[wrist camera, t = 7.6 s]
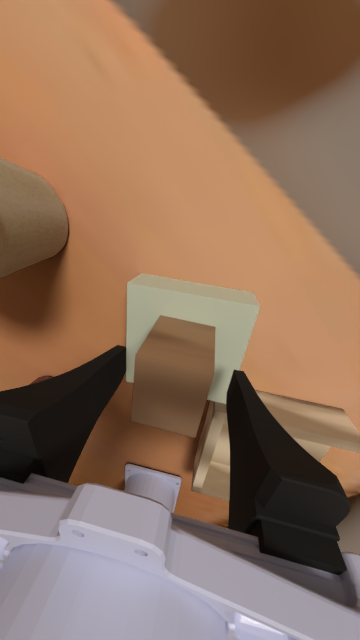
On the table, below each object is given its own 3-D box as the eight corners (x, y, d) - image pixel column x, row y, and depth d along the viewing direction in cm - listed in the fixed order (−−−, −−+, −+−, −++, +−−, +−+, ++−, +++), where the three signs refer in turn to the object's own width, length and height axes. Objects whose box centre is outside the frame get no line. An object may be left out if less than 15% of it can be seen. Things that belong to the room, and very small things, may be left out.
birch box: (291, 483, 25) (302, 520, 22) (194, 458, 26) (191, 490, 23) (343, 409, 19) (367, 445, 16) (215, 381, 20) (214, 410, 17)
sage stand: (226, 379, 20) (227, 404, 17) (137, 360, 21) (125, 381, 18) (253, 292, 16) (260, 306, 13) (141, 273, 17) (127, 282, 14)
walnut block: (201, 380, 17) (195, 438, 12) (154, 368, 17) (130, 421, 12) (215, 326, 14) (214, 373, 10) (160, 314, 15) (135, 355, 10)
